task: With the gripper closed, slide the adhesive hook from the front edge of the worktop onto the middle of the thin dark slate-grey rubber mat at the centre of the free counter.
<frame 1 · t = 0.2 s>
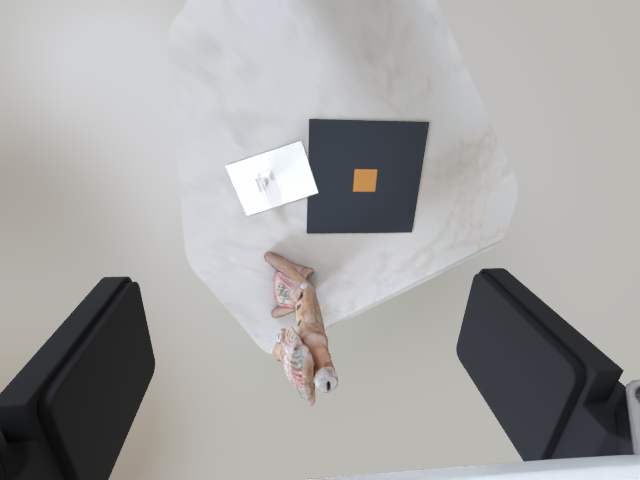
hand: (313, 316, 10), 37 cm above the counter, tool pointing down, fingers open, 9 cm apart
figurine: (288, 285, 52), on the counter
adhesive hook: (273, 179, 45), on the counter, touching centre mat
centre mat: (364, 180, 47), on the counter
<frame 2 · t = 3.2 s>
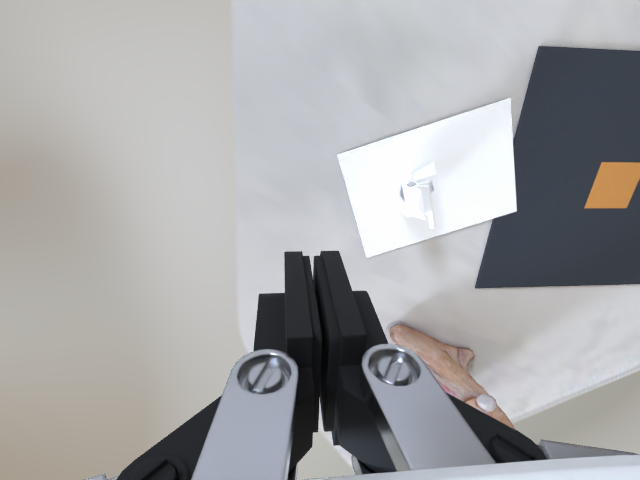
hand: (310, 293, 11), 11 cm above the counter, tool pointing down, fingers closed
figurine: (421, 375, 29), on the counter
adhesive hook: (431, 183, 21), on the counter, touching centre mat
centre mat: (613, 185, 23), on the counter
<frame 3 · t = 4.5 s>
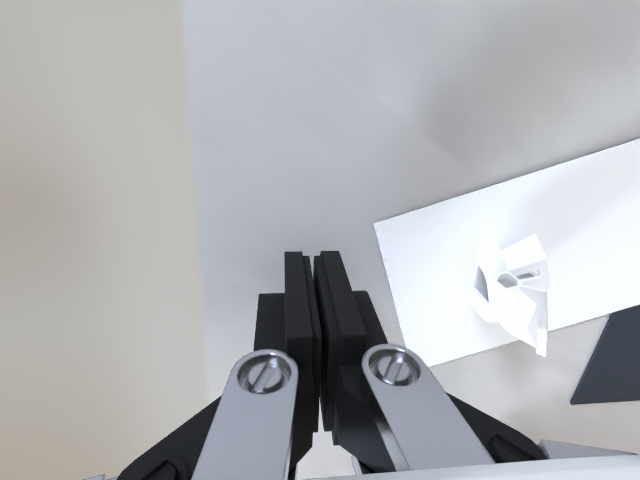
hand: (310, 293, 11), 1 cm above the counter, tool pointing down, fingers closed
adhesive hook: (522, 263, 13), on the counter, touching centre mat
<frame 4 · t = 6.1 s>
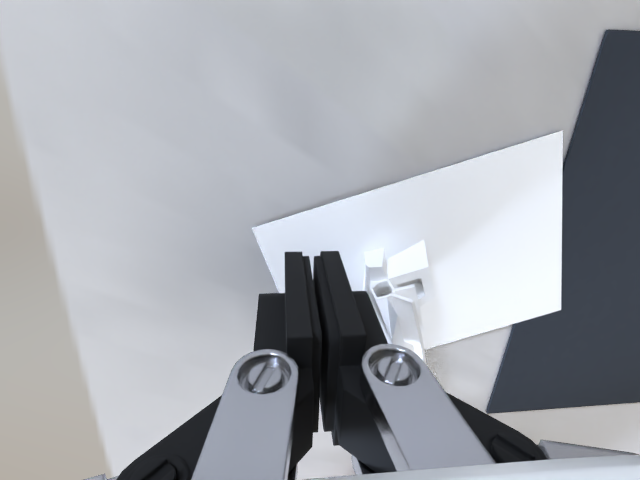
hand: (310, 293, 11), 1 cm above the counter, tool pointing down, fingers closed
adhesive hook: (420, 270, 13), on the counter, touching gripper
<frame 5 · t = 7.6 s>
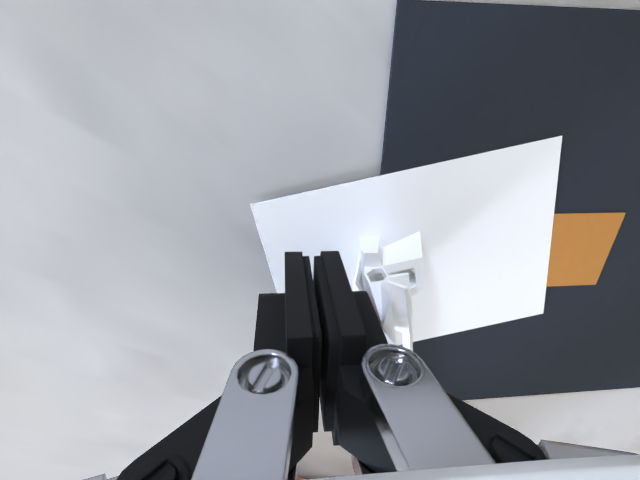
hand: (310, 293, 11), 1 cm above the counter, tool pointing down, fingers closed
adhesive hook: (412, 262, 13), on the counter, touching centre mat
centre mat: (570, 249, 13), on the counter
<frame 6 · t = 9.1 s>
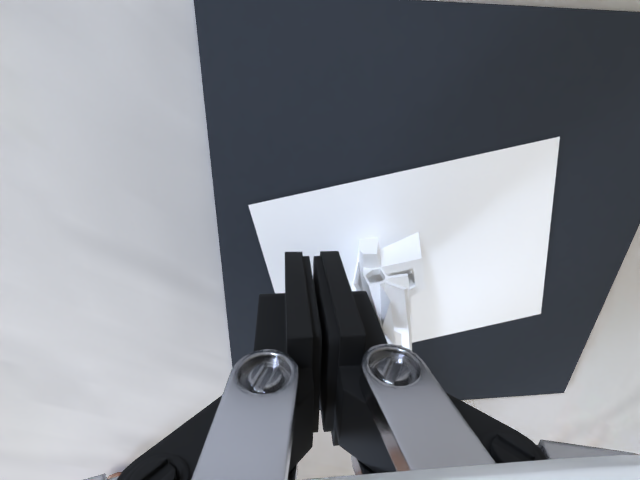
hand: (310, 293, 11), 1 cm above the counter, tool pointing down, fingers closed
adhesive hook: (411, 263, 13), resting on centre mat, touching gripper
centre mat: (436, 253, 13), on the counter
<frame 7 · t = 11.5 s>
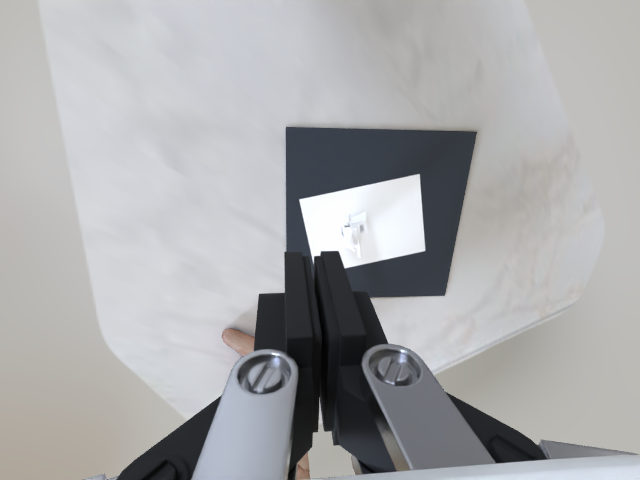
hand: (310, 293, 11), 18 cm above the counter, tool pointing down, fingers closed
figurine: (262, 371, 35), on the counter
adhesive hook: (364, 225, 30), resting on centre mat
centre mat: (374, 221, 30), on the counter
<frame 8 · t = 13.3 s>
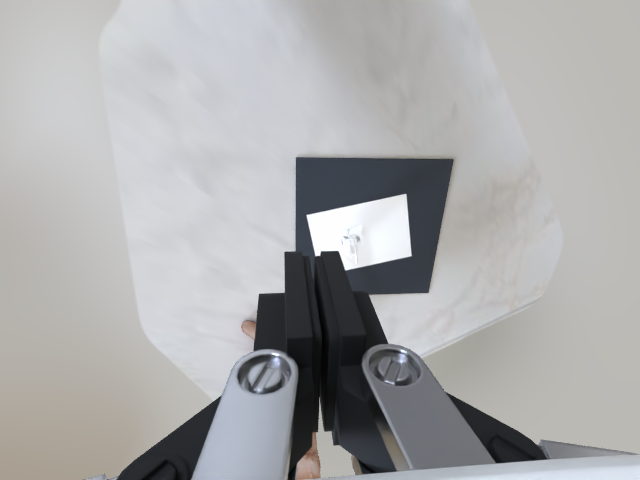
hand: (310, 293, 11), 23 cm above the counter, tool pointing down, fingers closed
figurine: (274, 356, 42), on the counter
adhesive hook: (360, 235, 36), resting on centre mat
centre mat: (369, 232, 36), on the counter
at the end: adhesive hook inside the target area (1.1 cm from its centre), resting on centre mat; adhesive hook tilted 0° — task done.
